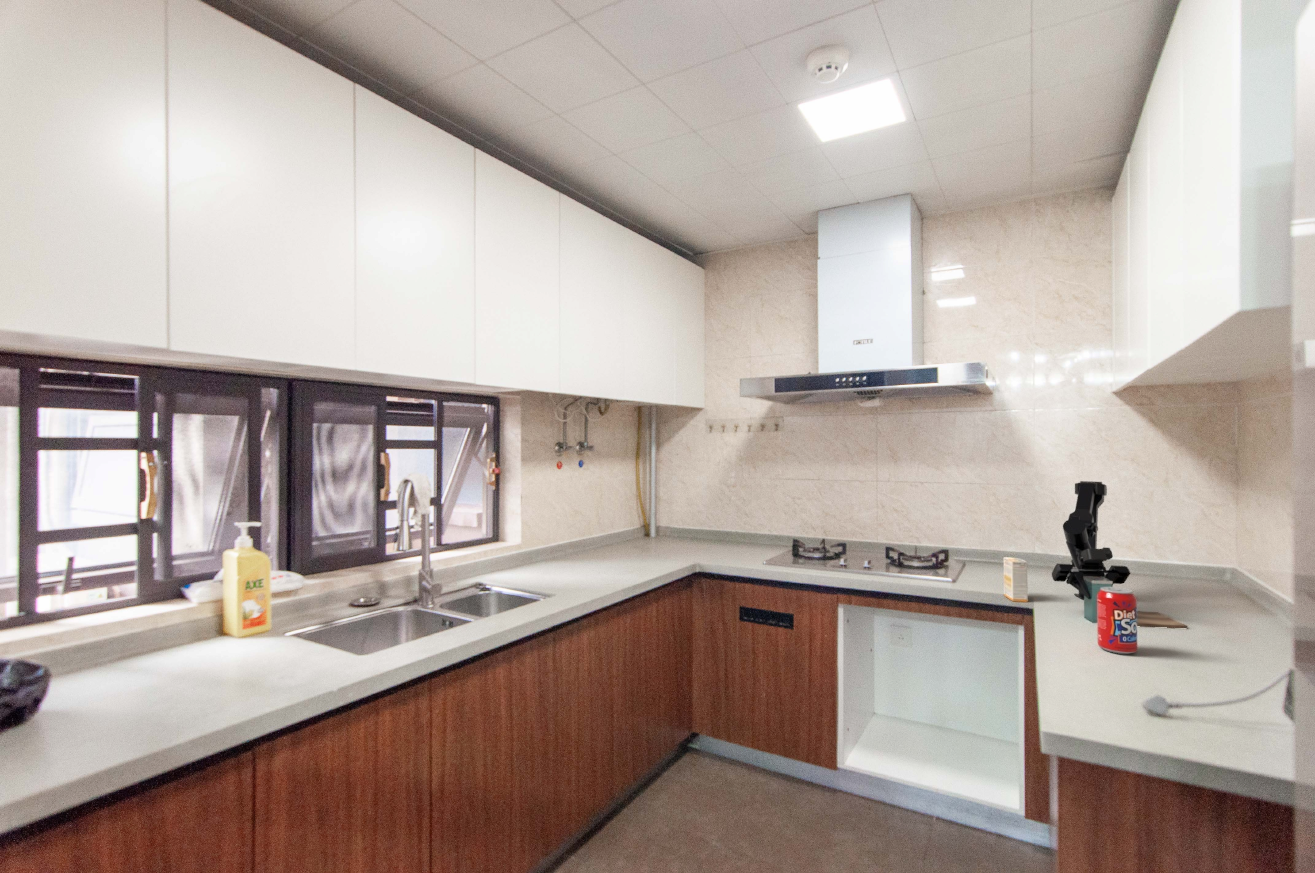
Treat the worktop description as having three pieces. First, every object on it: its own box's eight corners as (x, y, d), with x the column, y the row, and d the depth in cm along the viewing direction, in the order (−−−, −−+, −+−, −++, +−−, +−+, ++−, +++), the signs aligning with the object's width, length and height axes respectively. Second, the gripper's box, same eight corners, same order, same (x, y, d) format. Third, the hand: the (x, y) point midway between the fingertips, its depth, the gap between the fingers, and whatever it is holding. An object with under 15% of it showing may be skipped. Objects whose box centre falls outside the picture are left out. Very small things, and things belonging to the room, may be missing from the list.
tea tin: (1083, 617, 180) (1083, 576, 181) (1103, 618, 179) (1103, 577, 180) (1092, 622, 175) (1091, 580, 176) (1112, 623, 174) (1112, 581, 174)
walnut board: (1104, 614, 186) (1104, 609, 186) (1157, 617, 183) (1157, 612, 183) (1129, 628, 172) (1129, 622, 172) (1187, 631, 169) (1187, 625, 169)
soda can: (1098, 643, 157) (1098, 584, 157) (1138, 649, 152) (1137, 588, 152) (1096, 651, 151) (1095, 589, 151) (1136, 658, 146) (1136, 594, 146)
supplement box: (1028, 602, 198) (1028, 561, 198) (1012, 601, 199) (1011, 560, 199) (1019, 596, 206) (1018, 556, 206) (1003, 595, 207) (1002, 556, 207)
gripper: (1055, 536, 183) (1072, 581, 172) (1126, 538, 180) (1148, 584, 169) (1044, 558, 191) (1060, 602, 180) (1113, 560, 187) (1133, 606, 176)
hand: (1100, 598), depth 176 cm, fingers closed on tea tin, 5 cm apart
